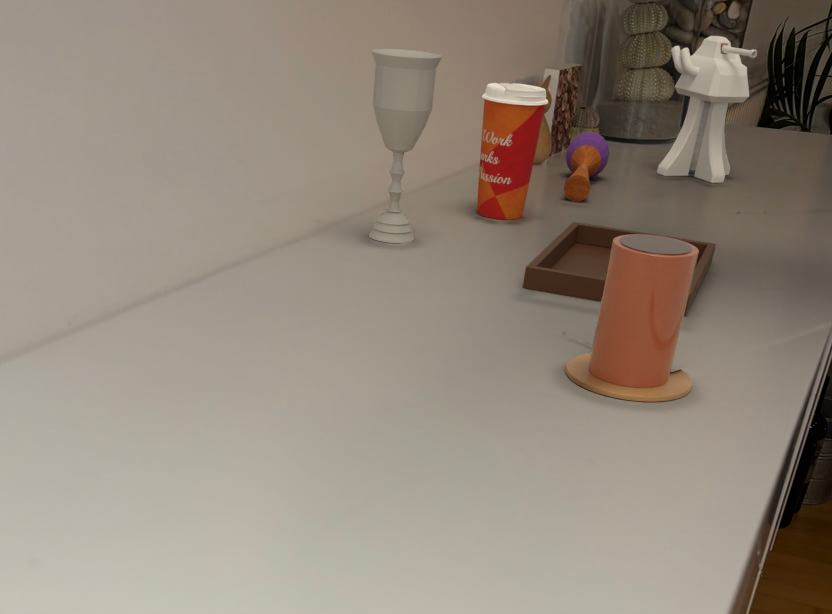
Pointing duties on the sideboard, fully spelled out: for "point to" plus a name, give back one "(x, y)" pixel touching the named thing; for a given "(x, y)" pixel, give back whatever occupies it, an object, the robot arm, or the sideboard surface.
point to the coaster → (670, 390)
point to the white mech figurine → (706, 108)
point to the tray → (593, 263)
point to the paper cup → (508, 147)
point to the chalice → (401, 123)
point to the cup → (642, 309)
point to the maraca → (584, 163)
